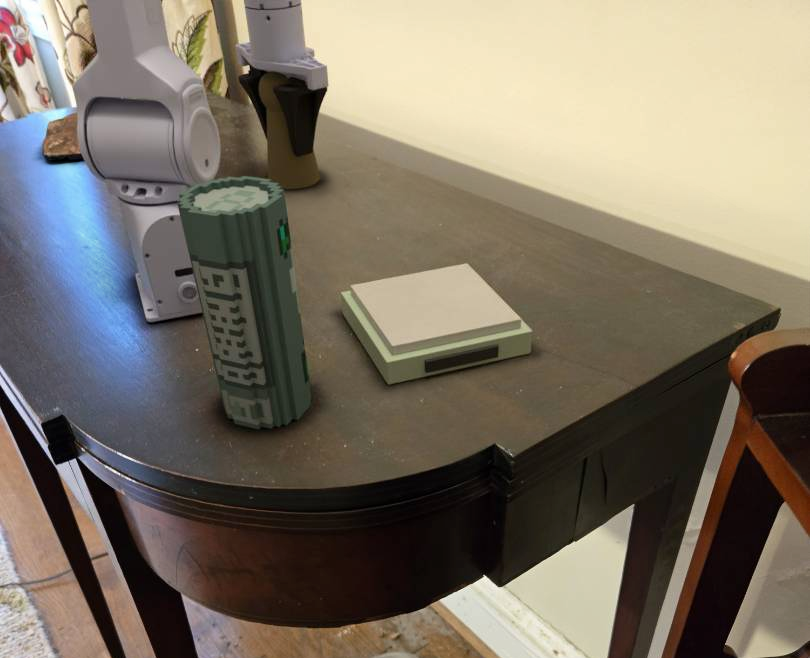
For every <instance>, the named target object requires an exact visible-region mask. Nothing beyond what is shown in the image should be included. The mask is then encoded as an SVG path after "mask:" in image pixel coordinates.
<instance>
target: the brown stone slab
mask: <svg viewBox="0 0 810 658" xmlns="http://www.w3.org/2000/svg"><path fill="white" fill-rule="evenodd" d="M77 123H78V117H77V111H76V112H71V113H70V114H67V115H65V116H64V117H62V118H59V119H58V118H57V119H54V120H50V121H48V123H47V126H46V131H45V132H46V133H45V138H44V139H43V140H42V142H41V150H42V153H43V154H42V156H43V157H44V158H45V159H47V160H48V161H60V160H64V159H66V158H68V159H69V160H70V161H74V160H84V159H83V156H82V154H81V151H80V148H79V144H78V138H77Z"/></svg>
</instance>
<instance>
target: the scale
mask: <svg viewBox="0 0 810 658" xmlns="http://www.w3.org/2000/svg"><path fill="white" fill-rule="evenodd" d="M349 287H350V290H347V291H346V290H345V291H341V292H340V300H341V311H342V315H343V316H344V319H346V321H347V323H348V325H349V326H350V327H351V329H352V331H353V332H354V334H355V335H356V337H357V339H358V340H359V342H360V343H361V345H362V346H363V348H364V350H365V351H366V353H367V354H368V356H369V358H370V359H371V360H372V362H373V363H374V365H375V367H376V369H377V370H378V372H379V373H380V375H381V376H382V377H383V379H384V381H385V382H386V384H387V385H388V386H390V385H393V384H397V383H402V382H407V381H411V380H416V379H420V378H426V377H429V376H434V375H439V374H443V373H447V372H451V371H456V370H461V369H465V368H470V367H474V366H479V365H484V364H487V363H492V362H497V361H502V360H505V359H510V358H516V357H520V356H524V355H529V354H531V353H532V341H533V334H534V333H533V329H532V328H531V327H530V326H529V325H528V324H527V323H526V322H525V321H524V320H523V319H522V318H521V317H520V316H519V315H518V314H517V313H516V312H515V310H513V309H512V308H511V306H510V305H509V304H508V303H506V301H504V299H503V298H502V297H501V296H500V295H499V294H498V293H497V292H496V291H495V290H494V289H493V288H492V287H491V286H490V285H489V284H488V283H487V282H486V281H485V280H484V279H483V278H482V277H481V276H480V275H479V274H478V273H477V272H476V270H475V269H473V268H472V267H471V266H470V264H468V263H467V262H466V263H462V264H457V265H451V266H450V265H449V266H446V267H441V268H434V269H429V270H423V271H419V272H415V273H414V272H413V273H408V274H403V275H399V276H398V275H397V276H392V277H388V278H382V279H377V280H372V281H371V280H370V281H367V282H366V281H365V282H361V283H355V284H350V286H349Z"/></svg>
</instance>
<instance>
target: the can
mask: <svg viewBox="0 0 810 658" xmlns="http://www.w3.org/2000/svg"><path fill="white" fill-rule="evenodd" d="M179 197H180V199H178V200H177V204H178V208H179V213H180V217H181V222H182V226H183V230H184V235H185V239H186V243H187V248H188V252H189V257H190V261H191V265H192V270H193V274H194V278H195V283H196V287H197V291H198V296H199V300H200V305H201V309H202V313H201V314H202V317H203V322H204V326H205V331H206V334H207V335H206V336H207V339H208V344H209V348H210V352H211V356H212V361H213V365H214V369H215V374H216V378H217V382H218V383H217V384H218V387H219V391H220V397H221V399H222V405H223V409H224V410H225V414H226V416H227V419H230V420H233V423H234V425H238V426H242V427H247V428H250V429H254V430H260V429H261V428H266V429H269V430H272V429H273V428H274V427H277V428H280V427H281V426H282V425H285V426H288V425H289V424H290V423H291V422H292V420H295V421H298V420H299V419H300V418H301V417H302V416H303V415H304V414H305V413H306V411H307V410H308V409H309V408H310V407H311V406H312V403H311V400H312V392H311V385H310V376H309V369H308V368H309V367H308V362H307V353H306V346H305V339H304V332H303V324H302V323H303V322H302V316H301V309H300V301H299V300H300V299H299V294H298V293H299V292H298V285H297V279H296V271H295V263H294V255H293V248H292V240H291V233H290V226H289V225H290V224H289V217H288V210H287V202H286V195H285V189H282V187H281V186H279V183H273V182H271V179H268V178H263V177H256V176H247V175H242V176H240V177H236V176H227V177H226V178H224V177H219V178H218V179H213V180H212V179H211V180H209V181H207V182H206V183H204V184H202V183H197V184H196V185H194V186H192V187H191V188H189V189H187V190H186V191H184V192H183V193H181V194H179Z"/></svg>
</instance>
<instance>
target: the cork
mask: <svg viewBox="0 0 810 658" xmlns="http://www.w3.org/2000/svg"><path fill="white" fill-rule="evenodd" d="M283 84H289V79H288V78H287V77H286V75H284V74H281V73H278V72H274V71H272V72H268V73H266V74H264V75H263V76H262V77H261V79H260V82H259V95H260V98H261V100H262V103H263V104H264V105H265V107H266V108H267V139H266V149H267V150H266V154H267V155H266V156H267V179H271V182H273V183H279V186H281V187H282V189H283V190H298V189H304V188H309V187H311V186H313V185H316V184H317V183H318V182H319V181H320V180H321V176H320V171H319V167H318V163H317V158H316V154H315V149H314V148H313V152H312V153H310V154H307V155H303V156H300V157H297V156H295V155H294V152H293V149H292V146H291V142H290V137H289V132H288V127H287V122H286V119H285V116H284V113H283V110H282V108H281V105H280V103H279V101H278V99H277V97H276V95H275V93H274V92H273V87H275V86H279V85H283Z"/></svg>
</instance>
